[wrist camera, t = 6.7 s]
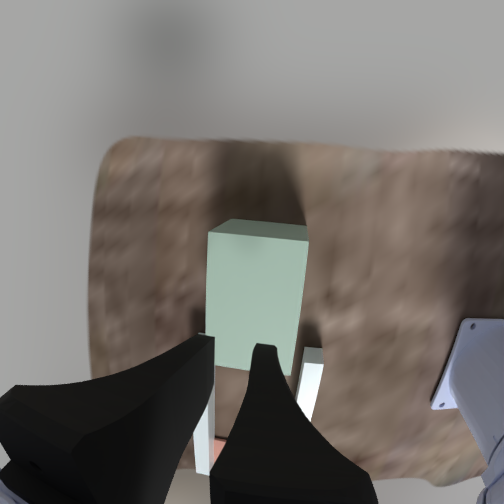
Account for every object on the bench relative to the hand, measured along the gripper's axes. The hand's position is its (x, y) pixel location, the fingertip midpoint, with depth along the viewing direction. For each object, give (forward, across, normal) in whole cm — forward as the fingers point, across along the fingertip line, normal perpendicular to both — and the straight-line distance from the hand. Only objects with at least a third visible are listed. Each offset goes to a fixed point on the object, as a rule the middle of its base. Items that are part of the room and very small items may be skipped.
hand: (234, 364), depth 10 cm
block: (+10, 0, 0) cm, 10 cm away
